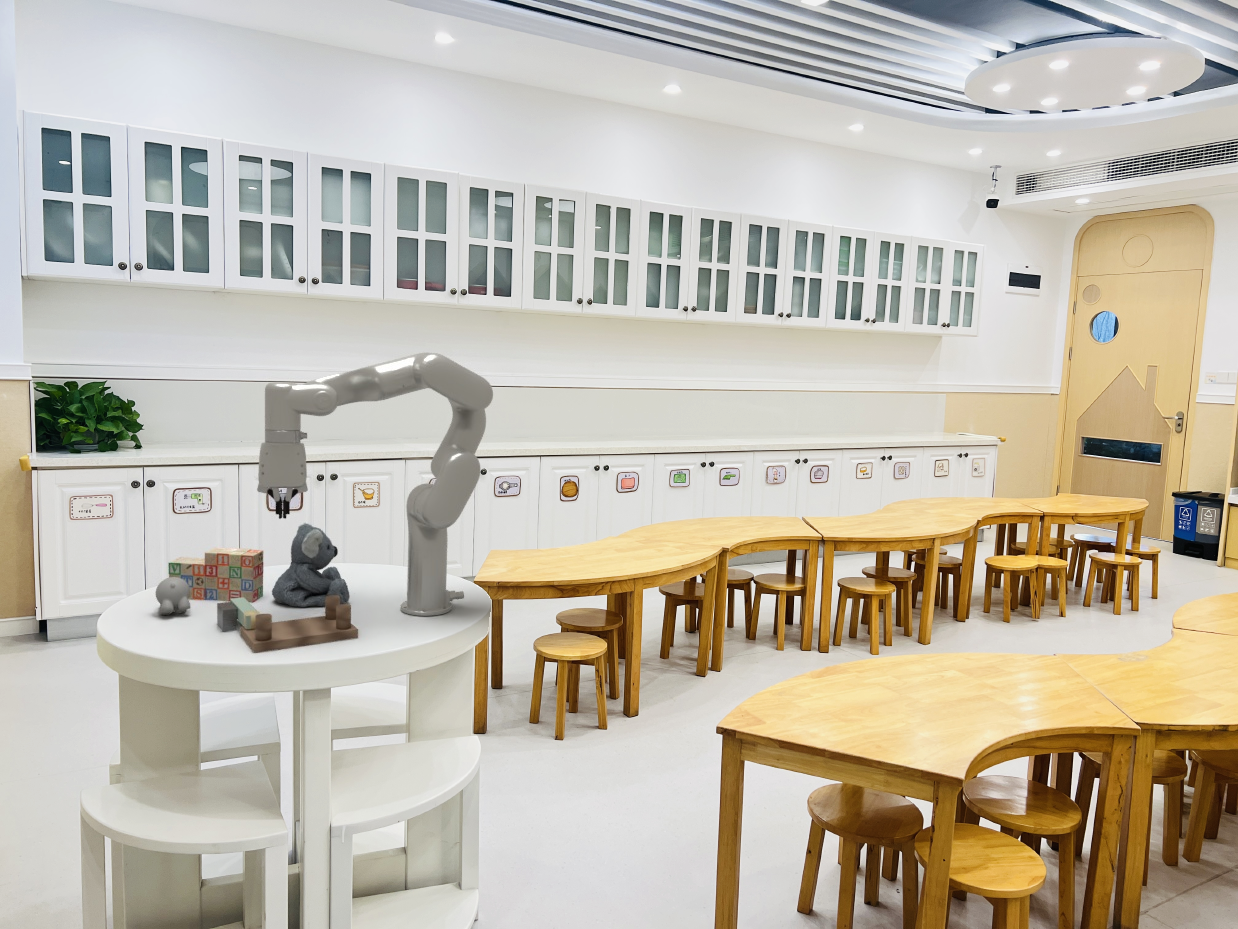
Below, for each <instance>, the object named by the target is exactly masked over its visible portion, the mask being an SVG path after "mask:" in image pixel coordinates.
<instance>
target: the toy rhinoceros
mask: <svg viewBox="0 0 1238 929" xmlns="http://www.w3.org/2000/svg"><path fill="white" fill-rule="evenodd" d="M189 595H190V588H189V585H188V584H187V582H186V581H184V580H183V579H181V578H178V577H170V578H169V577H168V578H165V579H163V580H162V581H161V582H159V583H158V585H157V587H156V589H155V599H156V601H157V602H158V604H160V605H159V608H158V613H159V615H161V616H168V615H171V613H173V612H174V613H175V614H182V613H185V612H187V611H188V610H189V609H191V603H190V599H188V598H189Z"/></svg>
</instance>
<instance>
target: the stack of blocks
mask: <svg viewBox="0 0 1238 929" xmlns="http://www.w3.org/2000/svg"><path fill="white" fill-rule="evenodd" d="M167 568H168V578H170V577H178V578H181V579H183V580H184V581H186V582H187V584H188V585H189V588H190V595H189V598H188V600H200V601H219V602H230V599H233V598H242V597H244V598H245V599H246V600H247V601H248V602H249V603H250V604H252V603H254V602H256V601H257V600H259V599H260V598H262V597H263V596H264V550H260V549H251V548H233V547H232V548H231V547H217V546H216V547H214V548H211V549H209V550H208V551H205V552H204V557H188V556H187V557H185V556H181V557H178V558H176V559H173V560H171V561H169V562H168V567H167Z"/></svg>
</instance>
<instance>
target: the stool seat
mask: <svg viewBox="0 0 1238 929" xmlns="http://www.w3.org/2000/svg"><path fill="white" fill-rule="evenodd" d="M324 611H325V612H324V614H325V615H322V616H321V615H320V616H314V617H304V618H298V619H297V618H296V619H289V620H281V621H274V622H273V621H272V619H273V615H272V614H270V613H260V614H258V615H256V616H255V629H245V628H244V626H243V625H241V626H239V636H240V637H241V638H242V640H243V641H244V642H245V644H246V645H247V646H248V647H249V648H250V650H251V651H252V653H253V654H258V653H264V652H270V651H277V650H284V649H291V648H299V647H305V646H306V647H307V646H312V645H320V644H327V643H333V642H341V641H347V640H353V639H358V638H359V628H358V627H356V626H355V625H354V624H353V623H352V605H351V604H349V603H344V604H340V596H338V595H329V596H326V597H325V607H324Z"/></svg>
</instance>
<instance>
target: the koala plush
mask: <svg viewBox="0 0 1238 929" xmlns="http://www.w3.org/2000/svg"><path fill="white" fill-rule="evenodd" d="M290 547H291V548H290V558H291V560H290V566H289V567H288V568H287V569H286V570H285V571H284V572H283V573H282V574H281V575H280V576H279V577H278V579H277V580H276V581H275V584H274V586H273V587H272V590H271V595H272V596H273V599H275V601H276V602H278V603H279V604H283V605H284V604H285V605H286V604H287V605H289V606H291V607H298V608H299V607H300V608H307V607H310V606H311V607H313V606H314V607H316V606H317V607H324V608H325V597H326V596H329V595H338V596H340V604H346V603H348V602H349V600H350V592H349V589H348V585H347V584H348V583H347V582H346V580H345V579H344V578H342V576H341V574H340V572H339V571H338V570H339V569H338V567H336V566H330V567H328V566H329V565H330V563H331V562H332V560H333V559H334V558H336V557H337V556H338V552H339V550H338V548H337V546H336V545H333V543H332V540H331V539H330V538H329V537H328V535H327V534H326V533H325V532H324V531H323V530H322V529H321V528H319V527H316V526H313V524H311V523H308V522H307V523H306V522H303V523H302V524H299V526H298V528H297V531H296V535H295V536H294V538H293V539H292V543H291V546H290ZM322 570H323V571H322ZM320 571H322V573H321V572H320Z"/></svg>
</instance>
